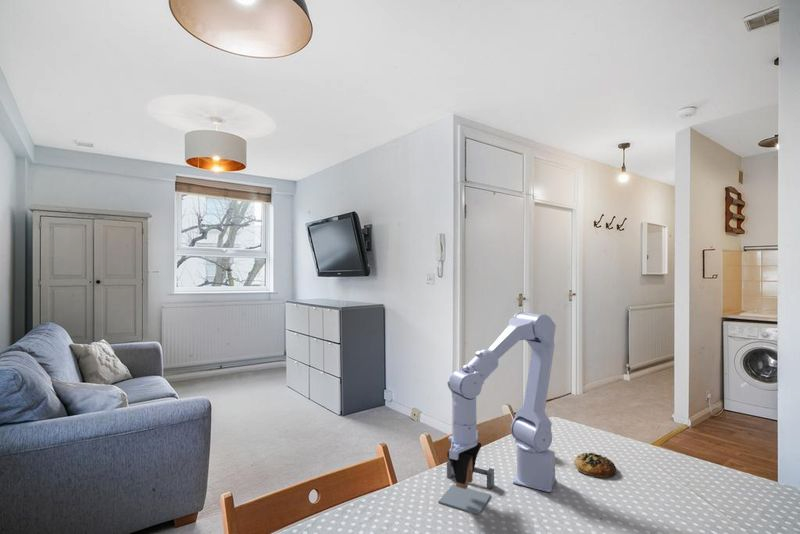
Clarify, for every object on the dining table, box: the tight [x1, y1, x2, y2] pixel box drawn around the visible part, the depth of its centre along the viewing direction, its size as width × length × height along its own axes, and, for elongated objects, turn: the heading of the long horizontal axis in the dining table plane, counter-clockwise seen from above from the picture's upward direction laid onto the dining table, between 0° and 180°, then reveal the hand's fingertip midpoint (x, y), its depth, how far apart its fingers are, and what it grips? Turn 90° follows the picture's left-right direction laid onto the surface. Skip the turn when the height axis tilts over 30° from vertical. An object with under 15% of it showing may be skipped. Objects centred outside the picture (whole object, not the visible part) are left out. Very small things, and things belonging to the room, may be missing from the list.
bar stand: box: [446, 459, 495, 490], centre depth 107 cm, size 12×2×4 cm, turn 60°
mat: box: [438, 483, 492, 516], centre depth 99 cm, size 10×9×1 cm
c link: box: [455, 454, 474, 489], centre depth 99 cm, size 2×5×6 cm, turn 150°
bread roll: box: [573, 452, 617, 478], centre depth 114 cm, size 11×11×5 cm
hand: (464, 477), depth 99 cm, fingers closed on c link, 5 cm apart
